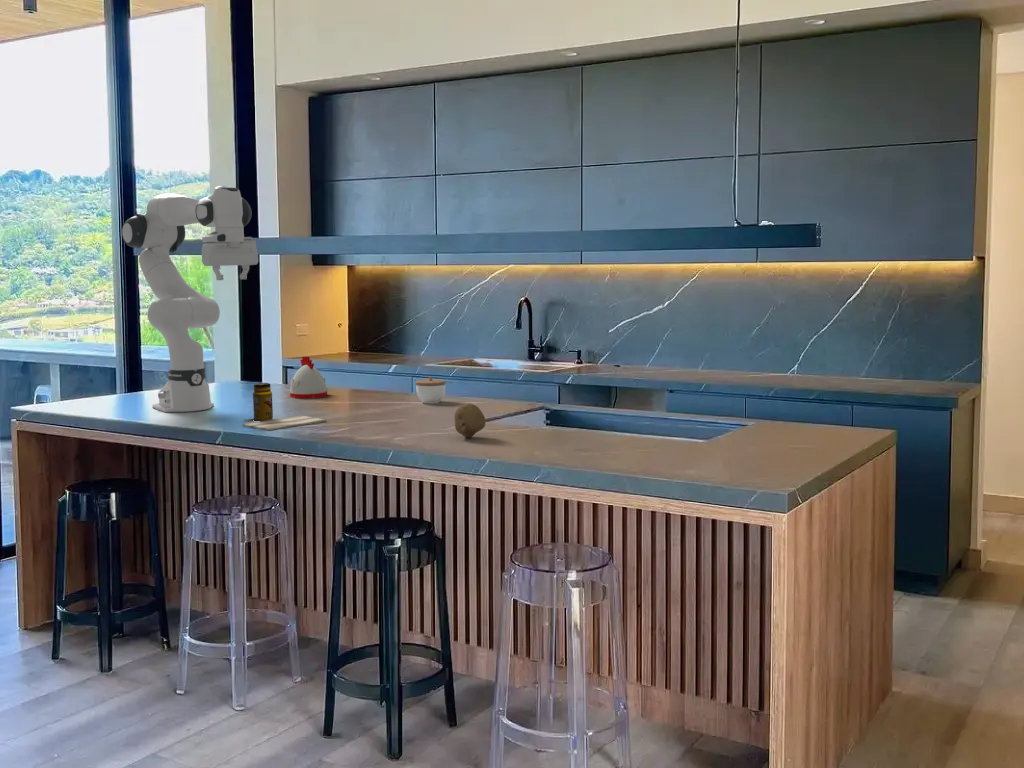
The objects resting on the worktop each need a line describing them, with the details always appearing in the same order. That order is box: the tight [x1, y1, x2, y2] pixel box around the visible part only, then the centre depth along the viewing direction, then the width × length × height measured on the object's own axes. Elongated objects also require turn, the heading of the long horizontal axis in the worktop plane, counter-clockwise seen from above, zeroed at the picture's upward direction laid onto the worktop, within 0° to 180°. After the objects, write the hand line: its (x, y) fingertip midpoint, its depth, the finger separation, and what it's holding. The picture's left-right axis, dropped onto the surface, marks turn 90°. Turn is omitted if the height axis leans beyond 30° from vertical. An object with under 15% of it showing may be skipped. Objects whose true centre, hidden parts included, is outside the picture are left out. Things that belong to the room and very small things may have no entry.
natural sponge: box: [454, 403, 487, 439], centre depth 302 cm, size 9×9×10 cm
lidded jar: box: [415, 376, 447, 405], centre depth 373 cm, size 11×11×9 cm
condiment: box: [244, 382, 274, 423], centre depth 338 cm, size 7×8×12 cm
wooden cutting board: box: [242, 415, 327, 431], centre depth 331 cm, size 14×22×1 cm, turn 137°
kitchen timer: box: [289, 356, 328, 399], centre depth 395 cm, size 14×14×15 cm
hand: (231, 279), depth 338 cm, fingers open, 8 cm apart
